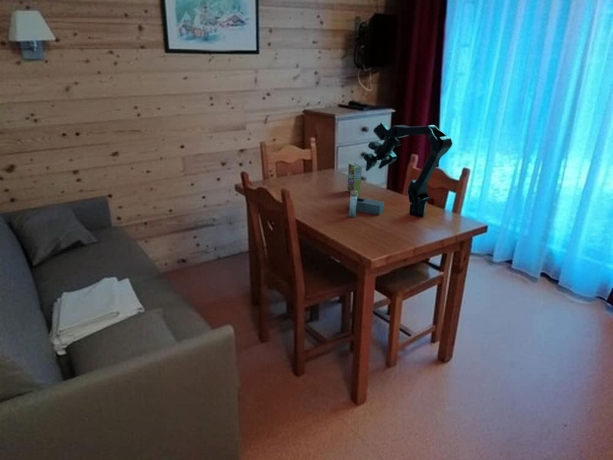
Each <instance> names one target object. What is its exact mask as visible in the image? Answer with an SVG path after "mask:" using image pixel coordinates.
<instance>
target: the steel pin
mask: <svg viewBox="0 0 613 460" xmlns="http://www.w3.org/2000/svg"><path fill="white" fill-rule="evenodd" d="M357 192H358V191H356V190H351V193H350V199H349V203H350V210H348V211H349V214H348V216H349V217H351V218H356V217H357V211H356V205H357V197H358V195H357Z"/></svg>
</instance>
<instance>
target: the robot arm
mask: <svg viewBox="0 0 613 460" xmlns="http://www.w3.org/2000/svg"><path fill="white" fill-rule="evenodd" d="M373 133H374V134H375V135H376V137H377V138H378V139H379V140H380V141H383V142H382V143H381V142H379V141H376V140H375V141H370V142H369V143H368V144H367V145H368V146H367V147H368V148H369V149H370V150H373V153H374V154H375V155H374V154H373V153H371V152H370V153H365V154H364V156H363V157H362V158H363V160H364V161H365V162H366V165H365V172H368V171H370V170H371V169H372V168H374V167H375V166H376V164H377V163H378V162H379V161H380V163H379V165H378V169H379V170H380V169H383V168H384V167H386V166H388V165H390V164H393V163H395V162H396V161H397V160H398V157H397V155H396V153H395V152H394V151H393V150H394V149H395V147H400V146H401V145H402V144H401V141H400V140H399V139H400V138H404V137H409V136H418V135H419V136H420V135H421V136H422V135H423V136H424V135H425V136H426V138H427V140H428V142H429V143H430V155H429V156H428V158H427V160H426V162H425V164H424V166H423V168H422V169H421V172H420V173H419V175H418V178H417V179H413V180H411V181H410V182H409V186H408V187H407V196H408V200H409V201H408V202H409V203H410V204H409V212H408V213H409V214H408V215H410V216H414V217H420V218H423V217H424V216H425V215H426V214H425V213H426V207H427V202H429V201H430V199H431V197H430V195H429V193H428V183H429V182H430V179H431V177H432V175H433V173H434V171H435V169H436V168H437V166H438V163H439V162H440V160H441V158H442V157H443V156H444V155H445V154H447V153H448V152H449V150H450V149H451V148H452V146H453V141H452V138H451V137H450V136H448V135H447V134H446V133H445V132H444V131H442V130H440V129H439V128H438V127H437V126H436V125H434V124H431V125H421V126H418V125H417V126H409V125H404V124H399V125H391V126H390V128H389V127H388V126H387V125H386V123H385V122H380V124H378V125H377V126H375V127H374V128H373Z"/></svg>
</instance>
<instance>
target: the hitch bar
mask: <svg viewBox="0 0 613 460" xmlns="http://www.w3.org/2000/svg"><path fill="white" fill-rule="evenodd" d="M348 204H349V205H348V206H349V207H348V211H350V202H349V203H348ZM384 208H385V201H382V200H381V201H380V200H376V199H375V200H374V199H369V198H364V197H359V196H357V205H356V212H359V213H365V214H369V215H370V214H371V215H376V216H380V215H381V214H382V213H383V212H384V210H385V209H384Z"/></svg>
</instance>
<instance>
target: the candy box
mask: <svg viewBox="0 0 613 460" xmlns="http://www.w3.org/2000/svg"><path fill="white" fill-rule="evenodd" d="M362 169H363V167H362V166H360V165H359V164H357V163H355V162H353V163H352V162H350V163H348V169H347V192H349V193H350V194H351V190H356V191H358V192H357V196H360V195H361V187H362V186H361V185H362Z"/></svg>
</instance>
